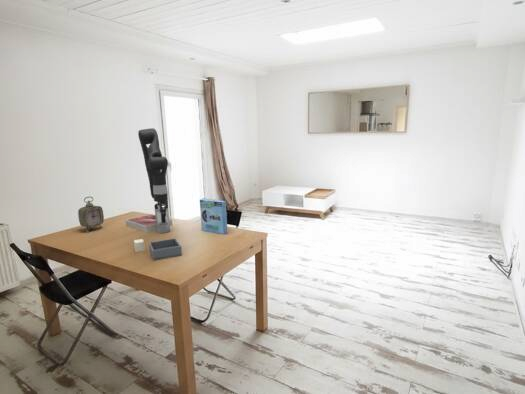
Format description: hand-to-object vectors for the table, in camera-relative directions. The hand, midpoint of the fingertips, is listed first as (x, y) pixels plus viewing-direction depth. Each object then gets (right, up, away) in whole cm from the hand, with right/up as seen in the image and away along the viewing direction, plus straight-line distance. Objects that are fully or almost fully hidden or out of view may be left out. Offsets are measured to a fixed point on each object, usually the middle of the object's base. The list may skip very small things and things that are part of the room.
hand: (162, 221), depth 184 cm
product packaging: (-29, -9, +61) cm, 68 cm away
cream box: (-17, -18, +11) cm, 27 cm away
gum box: (+23, -11, +43) cm, 50 cm away
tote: (0, -19, +4) cm, 19 cm away
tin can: (0, -2, 0) cm, 2 cm away
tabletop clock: (-68, -11, +52) cm, 86 cm away
